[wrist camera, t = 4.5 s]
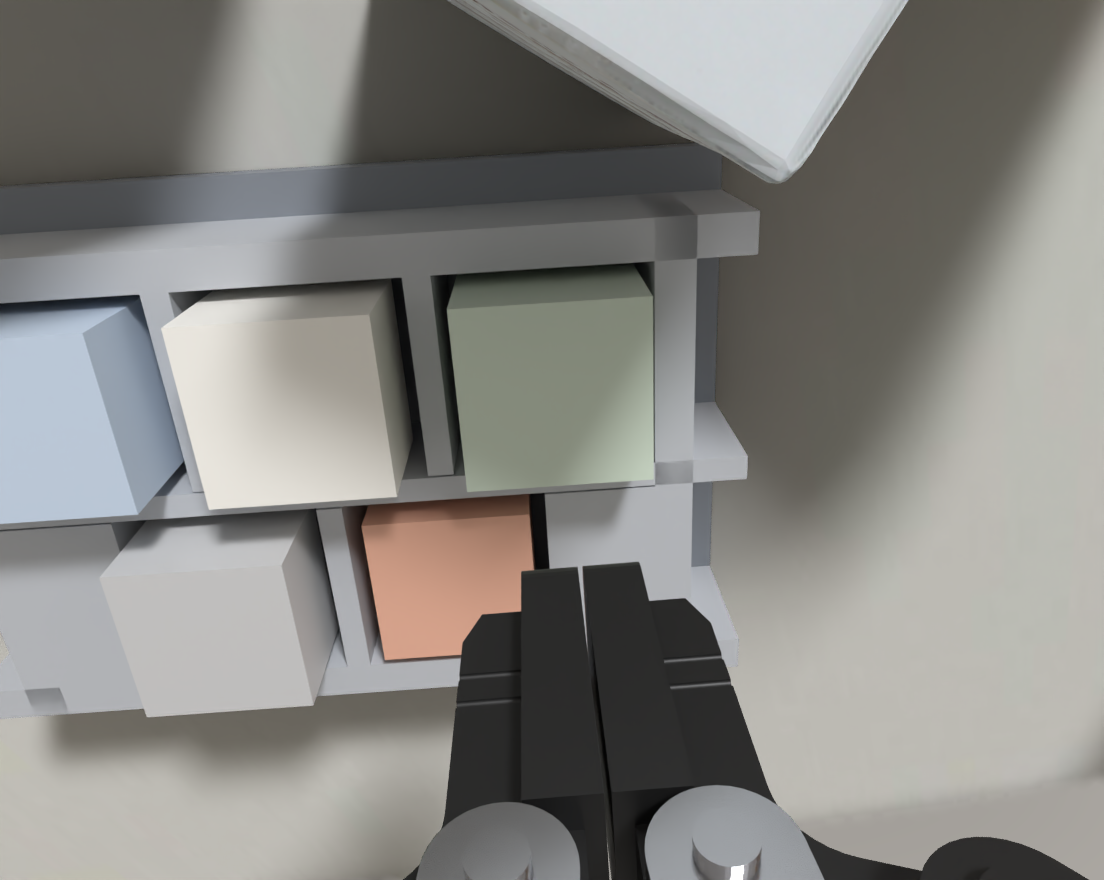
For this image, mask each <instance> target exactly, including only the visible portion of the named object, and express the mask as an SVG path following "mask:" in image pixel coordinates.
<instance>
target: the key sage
mask: <svg viewBox="0 0 1104 880" xmlns="http://www.w3.org/2000/svg"><path fill="white" fill-rule="evenodd" d="M447 316H448V325H449V334H450V343H451V352H452V360H453V369H454V378H455V387H456V396H457V405H458V414H459V423H460V432H461V441H462V450H463V459H464V468H465V477H466V485H467V492H477V491H492V490H506V489H521V488H536V487H550V486H565V485H580V484H594V483H609V482H624V481H638V480H653V479H654V433H653V295H652V294H651V292H650V291H649V289H648V287H647V286H646V284H645V282H644V281H643V279H642V278H641V276H640V274H639V273H638V271H637V269H636V268H635V266H634V265H633V263H628V264H613V265H597V266H582V267H566V268H551V269H535V270H520V271H504V272H489V273H473V274H457V277H456V280H455V283H454V287H453V290H452V294H451V297H450V300H449V304H448V307H447Z"/></svg>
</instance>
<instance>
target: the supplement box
mask: <svg viewBox="0 0 1104 880" xmlns="http://www.w3.org/2000/svg"><path fill="white" fill-rule="evenodd" d="M447 1H448V2H450V3H452V4H453V5H455V6H456V7H458V8H459V9H461V10H463V11H464V12H466V13H467V14H469V15H471V16H472V17H474V18H475V19H477V20H479V21H480V22H482V23H484V24H485V25H487V26H489V27H490V28H492V29H493V30H495V31H497V32H498V33H500V34H502V35H503V36H505V37H507V38H508V39H510V40H511V41H513V42H515V43H516V44H518V45H520V46H521V47H523V48H525V49H526V50H528V51H529V52H531V53H533V54H534V55H536V56H538V57H539V58H541V59H543V60H544V61H546V62H548V63H549V64H551V65H553V66H554V67H556V68H558V69H559V70H561V71H563V72H564V73H566V74H568V75H569V76H571V77H573V78H575V79H576V80H578V81H580V82H581V83H583V84H585V85H586V86H588V87H590V88H592V89H593V90H595V91H597V92H598V93H600V94H602V95H604V96H605V97H607V98H609V99H610V100H612V101H614V102H616V103H617V104H619V105H621V106H622V107H624V108H626V109H628V110H629V111H631V112H633V113H635V114H636V115H638V116H640V117H642V118H644V119H646V120H647V121H649V122H651V123H653V124H655V125H657V126H659V127H662V128H664V129H666V130H668V131H670V132H672V133H675V134H677V135H679V136H681V137H683V138H686V139H689V140H691V141H694V142H696V143H698V144H700V145H702V146H705V147H707V148H709V149H711V150H713V151H715V152H718V153H720V154H722V155H723V156H725V157H727V158H728V159H730V160H731V161H733V162H735V163H736V164H738V165H740V166H741V167H743V168H744V169H746V170H748V171H749V172H751V173H752V174H754V175H756V176H757V177H759V178H760V179H762V180H764V181H765V182H767V183H776V184H780V183H782V182H785V181H787V180H788V179H789V178H790V177H791V176H792V175H793V174H794V173H795V172H796V171H797V170H798V169H799V168H801V166H802V165H803V164H804V162H805V161H806V159H807V158H808V157H809V155H810V154H811V153H812V151H813V149H814V148H815V146H816V144H817V142H818V141H819V139H820V137H821V136H822V134H823V133H824V131H825V130H826V128H827V127H828V125H829V124H830V122H831V121H832V119H833V118H834V116H835V115H836V113H837V112H838V110H839V109H840V107H841V106H842V104H843V103H844V101H845V100H846V98H847V96H848V95H849V93H850V92H851V90H852V88H853V87H854V85H855V83H856V82H857V80H858V79H859V77H860V75H861V74H862V72H863V70H864V69H865V67H866V66H867V64H868V62H869V61H870V59H871V58H872V56H873V54H874V53H875V51H876V50H877V48H878V47H879V45H880V44H881V42H882V40H883V39H884V37H885V36H886V34H887V33H888V31H889V30H890V28H891V26H892V25H893V23H894V22H895V20H896V19H897V17H898V16H899V14H900V12H901V11H902V9H903V8H904V6H905V5H906V3H907V2H908V0H447Z"/></svg>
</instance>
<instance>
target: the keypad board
mask: <svg viewBox="0 0 1104 880" xmlns="http://www.w3.org/2000/svg"><path fill="white" fill-rule="evenodd" d="M721 179H722V154H720V153H718V152H715V151H713V150H711V149H709V148H707V147H705V146H702V145H700V144H698V143H683V144H667V145H651V146H635V147H619V148H603V149H587V150H571V151H555V152H539V153H523V154H507V155H491V156H475V157H459V158H443V159H427V160H411V161H395V162H379V163H363V164H347V165H331V166H315V167H299V168H283V169H267V170H251V171H235V172H219V173H203V174H187V175H170V176H154V177H138V178H122V179H106V180H90V181H74V182H58V183H42V184H26V185H10V186H0V304H7V303H23V302H38V301H54V300H69V299H85V298H100V297H116V296H131V295H140V299H141V302H142V306H143V310H144V313H145V317H146V321H147V324H148V328H149V332H150V336H151V339H152V343H153V347H154V350H155V354H156V358H157V361H158V365H159V369H160V372H161V376H162V380H163V384H164V387H165V391H166V395H167V398H168V402H169V406H170V409H171V413H172V417H173V420H174V424H175V428H176V432H177V435H178V439H179V443H180V446H181V450H182V454H183V457H184V462H183V463H182V464H181V465H180V466H179V467H178V469H177V470H176V471H175V472H174V473H173V474H172V476H171V477H170V478H169V479H168V480H167V481H166V483H165V484H164V485H163V486H162V487H161V488H160V490H159V491H158V492H157V493H156V494H155V495H154V497H153V498H152V499H151V500H150V501H149V502H148V504H147V505H146V506H145V507H144V508H143V509H142V511H141V512H140V513H139V514H138V515H125V516H110V517H96V518H81V519H66V520H52V521H37V522H22V523H8V524H0V632H1V634H2V637H3V639H4V642H5V644H6V646H7V649H8V651H9V654H8V656H7V657H6V658H5V659H4V660H3V661H2V662H1V664H0V719H7V718H21V717H35V716H49V715H63V714H77V713H91V712H105V711H119V710H133V709H144V707H143V705H142V702H141V699H140V696H139V693H138V690H137V687H136V684H135V681H134V678H133V675H132V672H131V669H130V667H129V664H128V661H127V658H126V655H125V652H124V649H123V646H122V643H121V640H120V637H119V634H118V631H117V629H116V626H115V623H114V620H113V617H112V614H111V611H110V608H109V605H108V602H107V599H106V596H105V593H104V591H103V588H102V585H101V582H100V579H99V577H100V576H101V575H102V574H103V573H104V571H105V570H106V569H107V568H108V567H109V565H110V564H111V563H112V562H113V561H114V559H115V558H116V557H117V556H118V555H119V553H120V552H121V551H122V550H123V548H124V547H125V546H126V545H127V544H128V542H129V541H130V540H131V539H132V538H133V536H134V535H135V534H136V533H137V532H138V530H139V529H140V528H141V527H142V526H143V524H144V523H145V522H146V521H147V520H153V519H168V518H182V517H197V516H211V515H226V514H241V513H255V512H270V511H285V510H299V509H315V514H316V519H317V524H318V529H319V534H320V539H321V544H322V549H323V554H324V559H325V564H326V569H327V574H328V579H329V584H330V588H331V593H332V598H333V603H334V608H335V613H336V618H337V623H338V631H337V634H336V637H335V640H334V643H333V647H332V650H331V653H330V656H329V659H328V662H327V665H326V668H325V672H324V675H323V678H322V681H321V684H320V687H319V690H318V693H317V696H328V695H342V694H356V693H370V692H384V691H398V690H412V689H426V688H440V687H454V686H458V682H459V681H460V677H459V672H460V662H461V655H449V656H434V657H420V658H406V659H392V660H385V657H384V651H383V646H382V640H381V634H380V629H379V623H378V617H377V612H376V606H375V600H374V595H373V589H372V583H371V578H370V572H369V566H368V561H367V555H366V549H365V544H364V538H363V532H362V527H361V526H362V523H363V520H364V517H365V514H366V511H367V508H368V505H373V504H387V503H402V502H417V501H431V500H446V499H460V498H475V497H490V496H504V495H519V494H530V498H531V511H532V524H533V537H534V551H535V564H536V570H541V569H554V568H566V567H578V573H579V582H580V590H581V599H582V608H583V616H584V625H585V633H586V619H585V604H584V589H583V571H582V566H589V565H601V564H614V563H626V562H639V563H640V566H641V569H642V573H643V577H644V582H645V586H646V590H647V594H648V598H649V601H654V600H666V599H679V598H686V599H687V600H688V601H689V602H690V603H691V604H692V605H693V606H694V607H695V608H696V609H697V610H698V611H699V612H700V613H701V614H702V615H703V616H704V617H706V618H707V619H708V620H709V621H710V622H711V624H712V627H713V630H714V633H715V636H716V639H717V642H718V645H719V647H720V650H721V653H722V659H724V662H725V665H726V667H734V666H738V647H739V638H738V636H737V633H736V630H735V628H734V625H733V623H732V620H731V618H730V615H729V613H728V610H727V608H726V605H725V603H724V600H723V598H722V595H721V592H720V590H719V587H718V585H717V582H716V580H715V577H714V575H713V572H712V570H711V567H710V547H711V513H712V481H724V480H739V479H747V466H748V456H747V454H746V452H745V451H744V449H743V447H742V446H741V444H740V442H739V441H738V439H737V437H736V436H735V434H734V432H733V431H732V429H731V428H730V426H729V424H728V423H727V421H726V419H725V418H724V416H723V414H722V413H721V411H720V409H719V408H718V406H717V404H716V403H715V380H716V346H717V313H718V279H719V257H728V256H743V255H758V245H759V225H760V211H759V210H758V209H756V208H754V207H752V206H750V205H749V204H747V203H745V202H743V201H741V200H740V199H738V198H736V197H734V196H733V195H731V194H729V193H727V192H725V191H724V190H722V189H721ZM628 263H633V265H634V266H635V268H636V269H637V271H638V273H639V274H640V276H641V278H642V279H643V281H644V282H645V284H646V286H647V287H648V289H649V291H650V292H651V294H652V295H653V433H654V479H653V480H638V481H624V482H609V483H594V484H580V485H565V486H550V487H536V488H521V489H506V490H492V491H477V492H467V485H466V477H465V468H464V459H463V450H462V441H461V432H460V423H459V414H458V405H457V396H456V387H455V378H454V369H453V360H452V352H451V343H450V334H449V325H448V316H447V307H448V304H449V300H450V297H451V294H452V290H453V287H454V283H455V280H456V277H457V274H473V273H489V272H504V271H520V270H535V269H551V268H566V267H582V266H597V265H613V264H628ZM380 279H391V283H392V290H393V297H394V304H395V311H396V318H397V326H398V333H399V340H400V347H401V354H402V362H403V369H404V376H405V383H406V390H407V398H408V405H409V412H410V419H411V426H412V434H413V442H412V445H411V449H410V453H409V456H408V460H407V463H406V467H405V470H404V474H403V477H402V481H401V485H400V488H399V492H398V495H397V497H389V498H374V499H360V500H345V501H330V502H316V503H301V504H286V505H272V506H257V507H242V508H228V509H213V510H209V508H208V504H207V501H206V497H205V493H204V489H203V486H202V482H201V478H200V474H199V470H198V467H197V463H196V459H195V455H194V451H193V448H192V444H191V440H190V436H189V433H188V429H187V425H186V421H185V417H184V414H183V410H182V406H181V402H180V398H179V395H178V391H177V387H176V383H175V380H174V376H173V372H172V368H171V364H170V361H169V357H168V353H167V349H166V346H165V342H164V338H163V334H162V330H161V328H162V327H163V326H165V325H166V324H167V323H169V322H170V321H172V320H173V319H174V318H176V317H177V316H179V315H180V314H181V313H183V312H184V311H186V310H187V309H188V308H190V307H191V306H193V305H194V304H195V303H197V302H198V301H200V300H201V299H202V298H204V297H205V296H207V295H208V294H209V293H211V292H212V291H214V290H225V289H240V288H256V287H271V286H287V285H302V284H318V283H333V282H349V281H364V280H380ZM586 642H587V635H586ZM587 651H588V650H587Z"/></svg>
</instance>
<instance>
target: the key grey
mask: <svg viewBox="0 0 1104 880" xmlns="http://www.w3.org/2000/svg"><path fill="white" fill-rule="evenodd" d="M99 579H100V582H101V585H102V588H103V591H104V593H105V596H106V599H107V602H108V605H109V608H110V611H111V614H112V617H113V620H114V623H115V626H116V629H117V631H118V634H119V637H120V640H121V643H122V646H123V649H124V652H125V655H126V658H127V661H128V664H129V667H130V669H131V672H132V675H133V678H134V681H135V684H136V687H137V690H138V693H139V696H140V699H141V702H142V705H143V707H144V710H145V713H146V716H147V717H160V716H174V715H187V714H201V713H215V712H229V711H243V710H257V709H271V708H285V707H299V706H313V705H314V703H315V700H316V696H317V693H318V690H319V687H320V684H321V681H322V678H323V675H324V672H325V668H326V665H327V662H328V659H329V656H330V653H331V650H332V647H333V643H334V640H335V637H336V634H337V631H338V623H337V618H336V613H335V608H334V603H333V598H332V593H331V588H330V584H329V579H328V574H327V569H326V564H325V559H324V554H323V549H322V544H321V539H320V534H319V529H318V524H317V519H316V514H315V509H299V510H285V511H270V512H255V513H241V514H226V515H211V516H197V517H182V518H168V519H153V520H147V521H146V522H145V523H144V524H143V526H142V527H141V528H140V529H139V530H138V532H137V533H136V534H135V535H134V536H133V538H132V539H131V540H130V541H129V542H128V544H127V545H126V546H125V547H124V548H123V550H122V551H121V552H120V553H119V555H118V556H117V557H116V558H115V559H114V561H113V562H112V563H111V564H110V565H109V567H108V568H107V569H106V570H105V571H104V573H103V574H102V575H101V576H100V577H99Z"/></svg>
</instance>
